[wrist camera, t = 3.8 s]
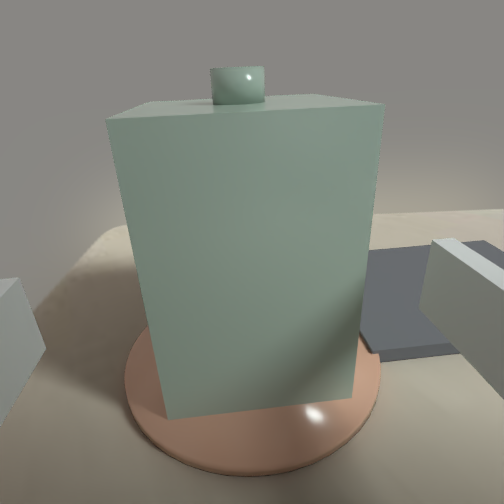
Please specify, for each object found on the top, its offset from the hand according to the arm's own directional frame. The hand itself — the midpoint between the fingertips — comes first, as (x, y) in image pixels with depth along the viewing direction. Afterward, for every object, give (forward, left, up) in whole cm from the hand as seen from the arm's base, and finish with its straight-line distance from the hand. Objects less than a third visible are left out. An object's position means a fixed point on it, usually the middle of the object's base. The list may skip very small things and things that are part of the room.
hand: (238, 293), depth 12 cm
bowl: (-1, -5, -7) cm, 9 cm away
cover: (-1, -5, -6) cm, 8 cm away
